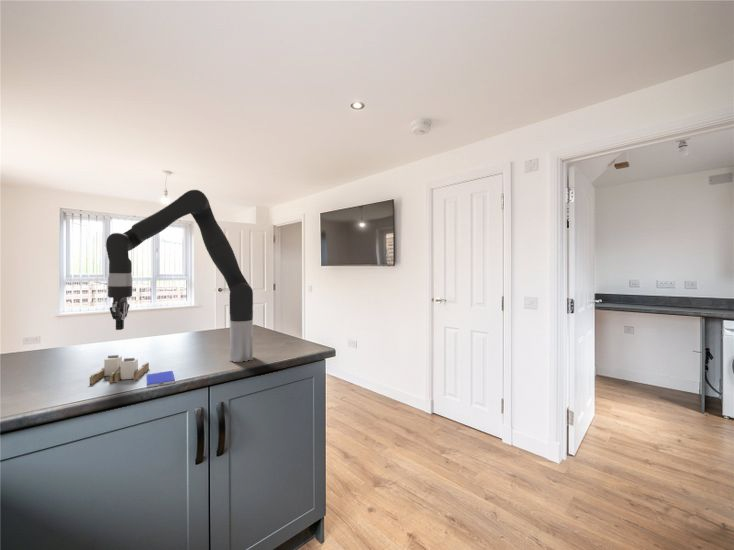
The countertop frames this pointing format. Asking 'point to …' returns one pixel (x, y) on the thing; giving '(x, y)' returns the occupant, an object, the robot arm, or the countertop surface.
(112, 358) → the tab
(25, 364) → the countertop surface
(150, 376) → the hard drive
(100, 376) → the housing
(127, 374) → the tab
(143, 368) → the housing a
